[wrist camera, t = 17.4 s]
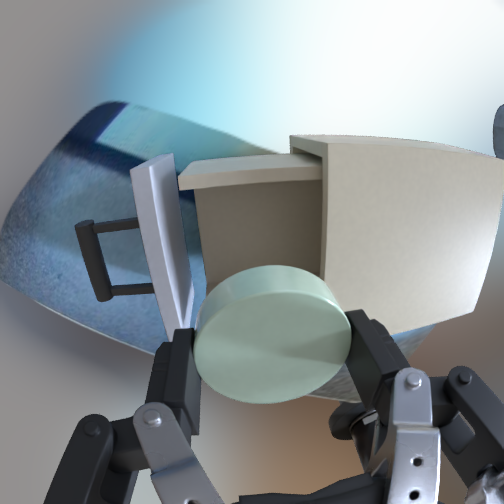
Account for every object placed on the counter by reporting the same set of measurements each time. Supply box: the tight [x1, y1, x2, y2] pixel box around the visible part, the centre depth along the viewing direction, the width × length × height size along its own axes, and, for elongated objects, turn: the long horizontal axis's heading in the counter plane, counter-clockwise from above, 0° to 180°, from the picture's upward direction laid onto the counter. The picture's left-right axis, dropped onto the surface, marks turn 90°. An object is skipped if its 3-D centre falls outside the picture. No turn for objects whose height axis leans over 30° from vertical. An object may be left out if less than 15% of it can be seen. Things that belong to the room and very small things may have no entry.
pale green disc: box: [193, 265, 352, 404], centre depth 11 cm, size 6×6×2 cm
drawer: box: [75, 153, 323, 342], centre depth 20 cm, size 20×13×7 cm, turn 93°
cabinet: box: [290, 135, 504, 335], centre depth 21 cm, size 16×14×9 cm
